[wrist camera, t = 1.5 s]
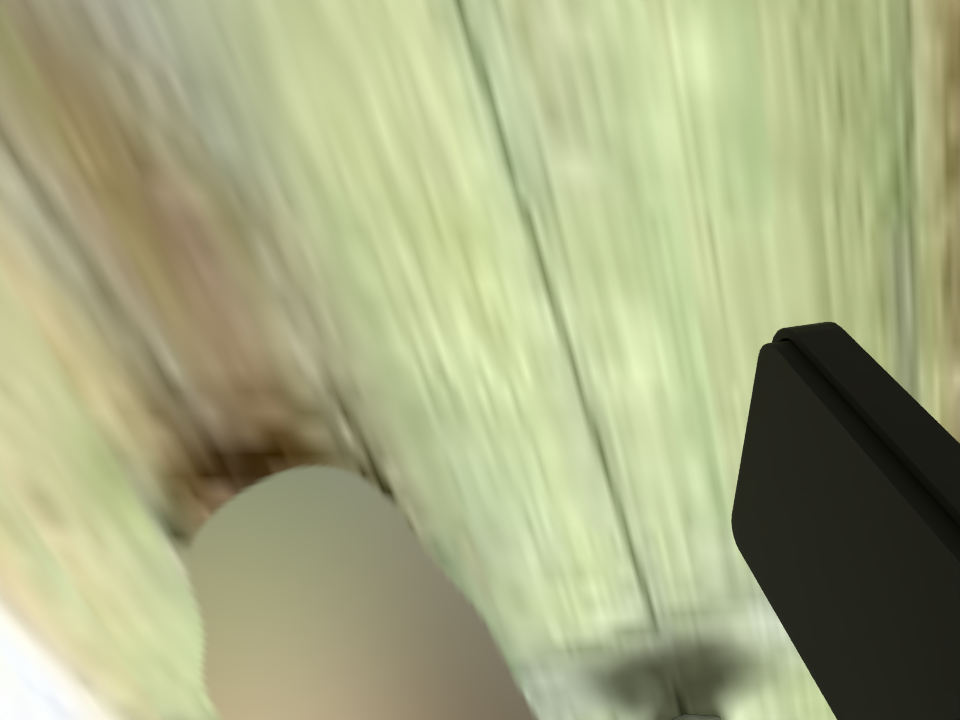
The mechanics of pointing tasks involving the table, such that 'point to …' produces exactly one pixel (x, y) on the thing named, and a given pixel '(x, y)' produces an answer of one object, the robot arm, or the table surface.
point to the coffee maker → (696, 717)
